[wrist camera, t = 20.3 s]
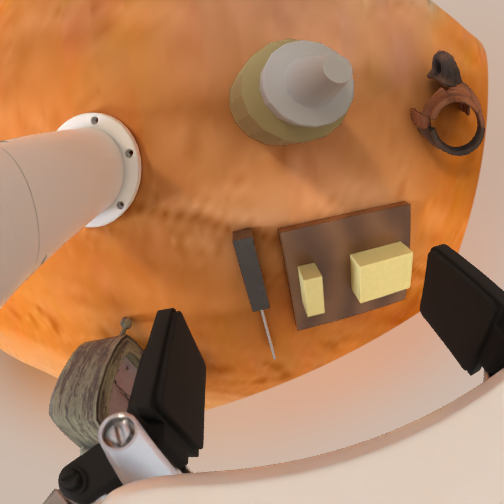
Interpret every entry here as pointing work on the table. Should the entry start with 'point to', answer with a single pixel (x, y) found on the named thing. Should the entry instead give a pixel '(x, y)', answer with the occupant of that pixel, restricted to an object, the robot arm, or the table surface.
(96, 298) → the table surface
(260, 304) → the knife
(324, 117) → the squeeze bottle
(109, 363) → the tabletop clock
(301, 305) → the cutting board
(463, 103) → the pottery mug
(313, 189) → the table surface
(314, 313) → the butter slice
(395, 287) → the butter
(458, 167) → the table surface
